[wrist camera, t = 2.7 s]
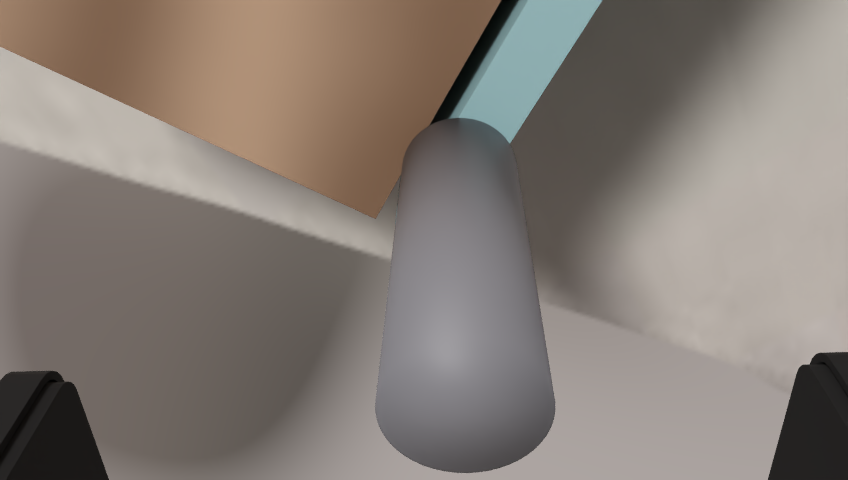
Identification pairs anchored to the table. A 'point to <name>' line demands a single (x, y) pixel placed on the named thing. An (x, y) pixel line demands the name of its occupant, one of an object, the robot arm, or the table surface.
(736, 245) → the table surface
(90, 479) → the robot arm
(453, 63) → the cabinet
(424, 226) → the door
